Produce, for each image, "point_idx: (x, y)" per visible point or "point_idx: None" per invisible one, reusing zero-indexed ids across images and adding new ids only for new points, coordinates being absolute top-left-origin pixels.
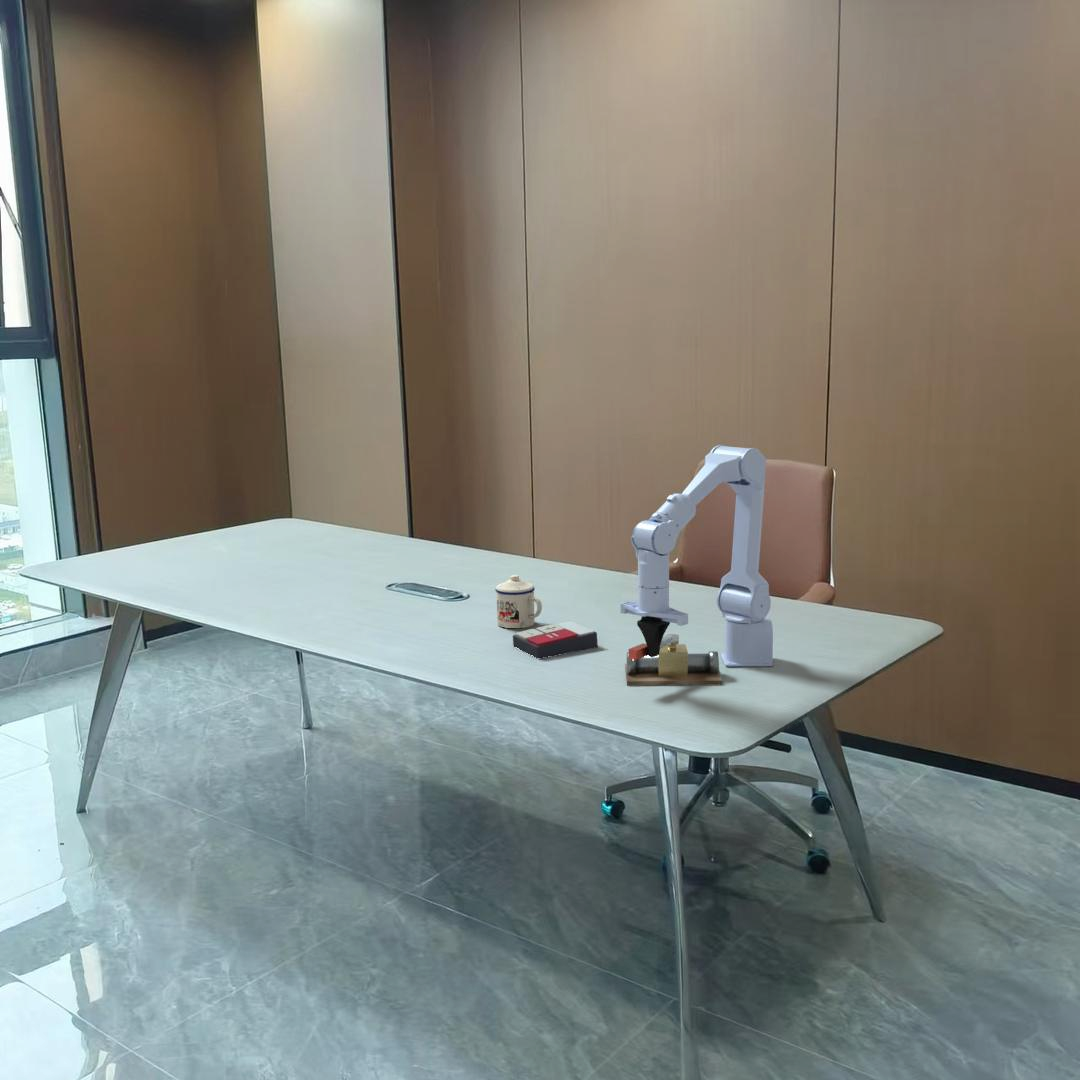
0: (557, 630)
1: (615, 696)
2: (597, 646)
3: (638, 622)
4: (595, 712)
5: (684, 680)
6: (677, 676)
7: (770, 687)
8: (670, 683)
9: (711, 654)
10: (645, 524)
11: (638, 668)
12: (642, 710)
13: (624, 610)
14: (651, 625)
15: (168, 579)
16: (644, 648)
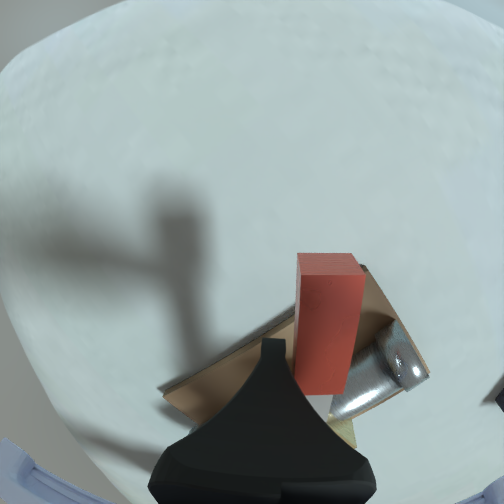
0: None
1: (334, 152)
2: (496, 400)
3: (350, 480)
4: (284, 8)
5: (226, 365)
6: None
7: (103, 403)
8: (255, 341)
9: None
10: None
11: (370, 347)
12: (179, 104)
13: (501, 495)
14: (171, 467)
15: None
16: (296, 348)
